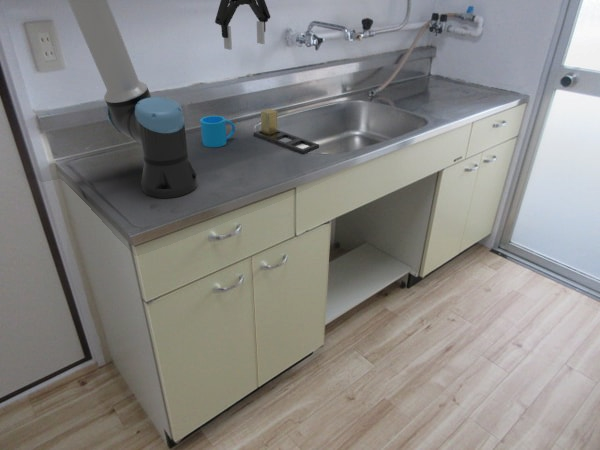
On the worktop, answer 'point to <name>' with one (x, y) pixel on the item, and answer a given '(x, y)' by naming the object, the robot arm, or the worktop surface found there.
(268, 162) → the worktop surface
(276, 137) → the dark slotted tray
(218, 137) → the mug
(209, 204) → the worktop surface
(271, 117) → the nut block
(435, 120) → the worktop surface
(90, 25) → the robot arm
